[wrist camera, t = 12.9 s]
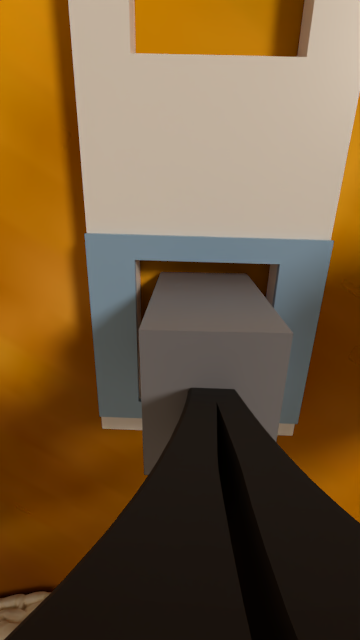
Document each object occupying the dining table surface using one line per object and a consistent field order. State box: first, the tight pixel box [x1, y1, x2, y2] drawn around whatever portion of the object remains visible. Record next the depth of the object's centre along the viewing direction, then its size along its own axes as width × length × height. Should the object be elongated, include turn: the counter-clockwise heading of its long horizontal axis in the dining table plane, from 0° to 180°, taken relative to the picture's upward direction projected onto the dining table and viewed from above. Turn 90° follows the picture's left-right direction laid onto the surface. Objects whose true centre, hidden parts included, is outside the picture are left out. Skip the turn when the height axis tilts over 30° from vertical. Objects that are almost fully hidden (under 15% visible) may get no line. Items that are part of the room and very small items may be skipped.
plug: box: [139, 272, 293, 475], centre depth 12 cm, size 4×5×7 cm
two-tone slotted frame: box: [68, 0, 360, 436], centre depth 12 cm, size 10×25×2 cm, turn 179°
